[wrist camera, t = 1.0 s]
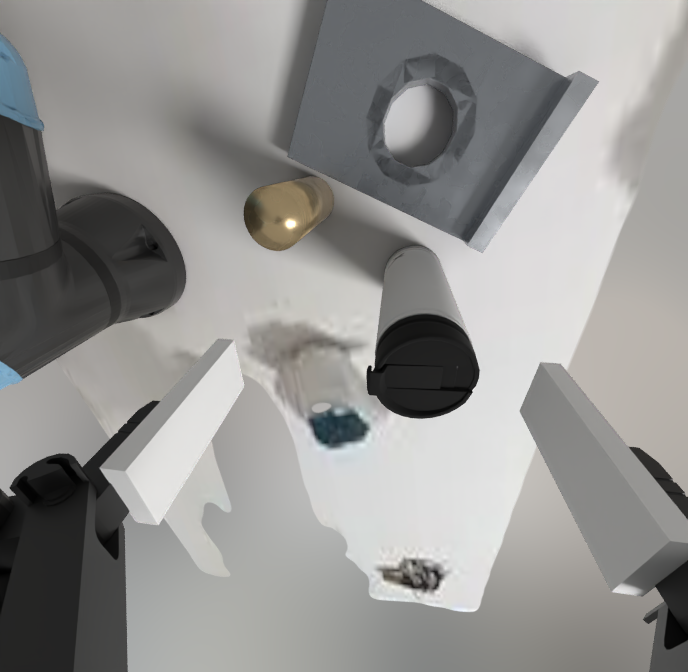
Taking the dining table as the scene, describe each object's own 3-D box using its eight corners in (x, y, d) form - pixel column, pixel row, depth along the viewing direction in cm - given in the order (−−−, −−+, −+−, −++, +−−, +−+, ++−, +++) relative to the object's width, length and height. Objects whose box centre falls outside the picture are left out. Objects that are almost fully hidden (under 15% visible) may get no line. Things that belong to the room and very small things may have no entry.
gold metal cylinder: (288, 211, 33) (238, 235, 22) (300, 168, 30) (250, 174, 20) (325, 228, 33) (292, 260, 23) (340, 187, 31) (310, 202, 20)
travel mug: (382, 245, 33) (365, 338, 16) (444, 244, 32) (497, 344, 15) (381, 297, 36) (365, 422, 19) (437, 298, 35) (474, 431, 18)
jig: (295, 156, 30) (280, 156, 26) (344, -26, 23) (333, -62, 19) (472, 241, 31) (482, 252, 27) (567, 93, 24) (598, 81, 21)
